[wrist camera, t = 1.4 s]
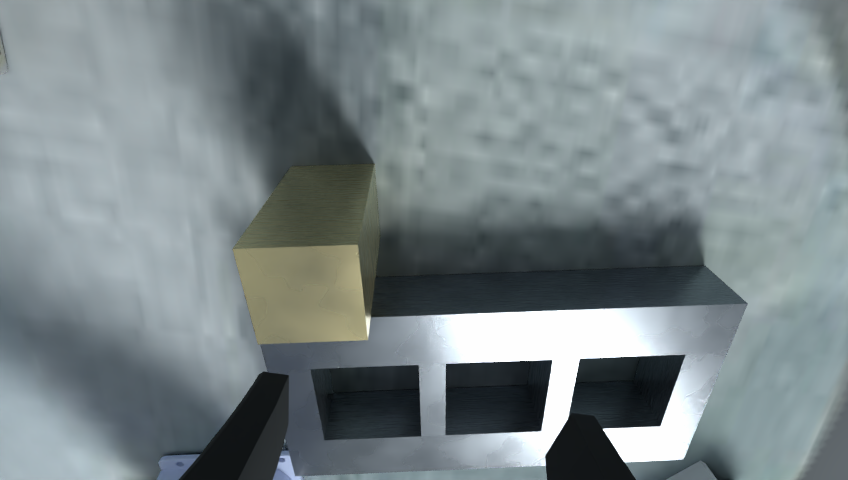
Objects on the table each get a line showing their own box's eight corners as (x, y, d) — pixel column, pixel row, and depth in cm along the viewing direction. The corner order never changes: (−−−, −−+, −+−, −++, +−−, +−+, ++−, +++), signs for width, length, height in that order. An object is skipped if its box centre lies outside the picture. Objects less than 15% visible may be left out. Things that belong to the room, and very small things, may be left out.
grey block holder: (306, 427, 30) (295, 476, 27) (274, 280, 24) (254, 321, 21) (655, 413, 30) (683, 459, 27) (705, 265, 24) (747, 303, 21)
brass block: (303, 239, 23) (258, 344, 16) (291, 166, 21) (232, 249, 14) (380, 236, 23) (368, 340, 16) (374, 163, 21) (357, 244, 14)
